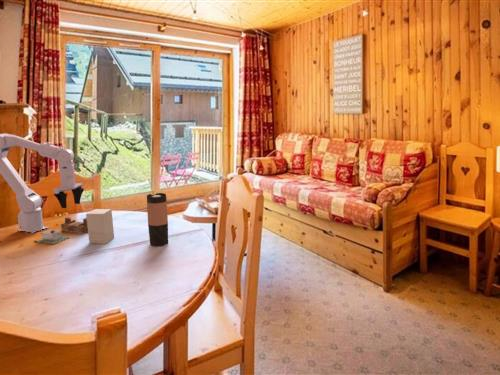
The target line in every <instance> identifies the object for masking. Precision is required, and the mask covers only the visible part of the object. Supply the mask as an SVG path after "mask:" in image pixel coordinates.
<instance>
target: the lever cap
mask: <svg viewBox="0 0 500 375" xmlns="http://www.w3.org/2000/svg"><path fill="white" fill-rule="evenodd" d="M40 236H41V238H42V240H45V241H52V242H54V241H56V240H59V239H61V238H62V236H63V231H62V230H57V229H52V228H50V229H46V230H45V231H44V230H43V231H42V232H41V231H40Z"/></svg>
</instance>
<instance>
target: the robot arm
mask: <svg viewBox="0 0 500 375" xmlns="http://www.w3.org/2000/svg"><path fill="white" fill-rule="evenodd" d="M16 146H17V147H22V148H24V149H28V150H32V151H36V152H38V154H39V155H40V156H42V157H45V158H49V159H51V160H52V159H53V160H56V161H57V162H58V168H59V177H60V186H58V187H55V188H53V196H54V197H56V199H57V201H58V203H59V204H60V207H61V209H67V206H68V205H67V197H68V193H67V192H69V191H71V193H72V196H73V200H74V204H75V205H80V204H81V199H82V196H83V192H84V190H85V189H84V183H83V182H77V183H76V174H75V165H74V159H75V153H74V151H73V150H72V149H70V148H67V147H65V148H63V146H62V145H61V146H57V145H54V144H52V142H50V141H49V142H48V141H47V142H42V143H38V142H35V141H32V140H29V139H26V138H24V137H22V136H18V135H16V134H10V133H8V132H2V133H0V175H1V176H2V179H4V181H5V182H6V183H7V184H8V185H9V187H10V188H11V189H12V191H13V192H14V194H15V195H16V196H15V200H16V202H17V204H18V207H19V210H20V212H18V215H17V223H18V230H19V229H21V230H25V231H26V232H25V233H27V232H32V233H31V234H35V233H34V232H36V231H39V230H41V231H43V230H42V229H44V230H46V229H45V228H47V229H49V226H44V220H43V212H42V208H41V207H42V205H43V198H42V196H40V195H39V194H37V192H35V191H34V190H33V189H32V188H29V187H28V185H27V184H26V182H25V181H24V180H23V178H22V176H20V174H19V173H18V172H17V170H16V168H14V166H13V165H12V163H11V161H9V159H8V157H7V156H8V153H9V151H10V150H11V148H12V147H16ZM39 232H40V231H39ZM36 233H37V232H36Z"/></svg>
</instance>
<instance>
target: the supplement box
mask: <svg viewBox="0 0 500 375" xmlns="http://www.w3.org/2000/svg"><path fill="white" fill-rule="evenodd" d="M85 215H86V217H85V218H87V226H88V233H87V235H88V243H89V244H99V245H101V244H104V245H106V244H108V243H109V242H111V241H112V240H113V239H115V232H114V222H113V219H114V218H113V212H112V209H111V208H107V209H106V208H104V209H103V208H95V209H93V210H90V211H88V212H87V213H85Z"/></svg>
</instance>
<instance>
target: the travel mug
mask: <svg viewBox="0 0 500 375" xmlns="http://www.w3.org/2000/svg"><path fill="white" fill-rule="evenodd" d="M167 202H168V200H167V194H166V193H162V192H156V194H151V193H149V194H146V208H147V226H148V237H149V238H148V239H149V245H150V246H152V247H163V246H166V245H168V243H169V223H168V222H169V221H168V220H169V219H168V218H169V217H168V203H167Z"/></svg>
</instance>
